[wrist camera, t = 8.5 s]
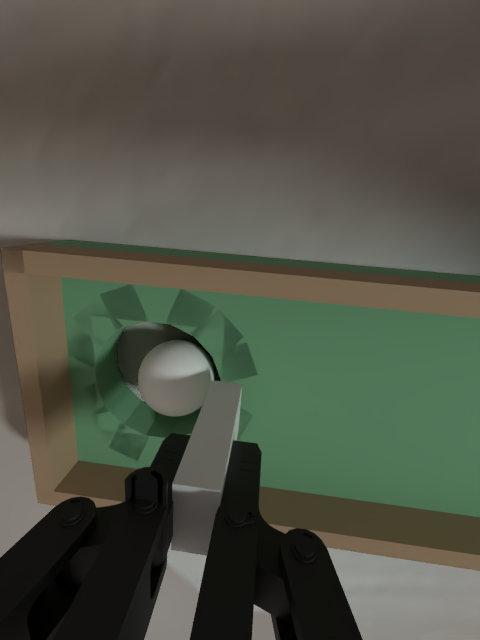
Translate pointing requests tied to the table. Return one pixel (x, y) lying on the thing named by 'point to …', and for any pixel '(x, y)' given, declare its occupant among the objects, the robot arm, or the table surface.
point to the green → (266, 385)
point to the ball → (175, 377)
